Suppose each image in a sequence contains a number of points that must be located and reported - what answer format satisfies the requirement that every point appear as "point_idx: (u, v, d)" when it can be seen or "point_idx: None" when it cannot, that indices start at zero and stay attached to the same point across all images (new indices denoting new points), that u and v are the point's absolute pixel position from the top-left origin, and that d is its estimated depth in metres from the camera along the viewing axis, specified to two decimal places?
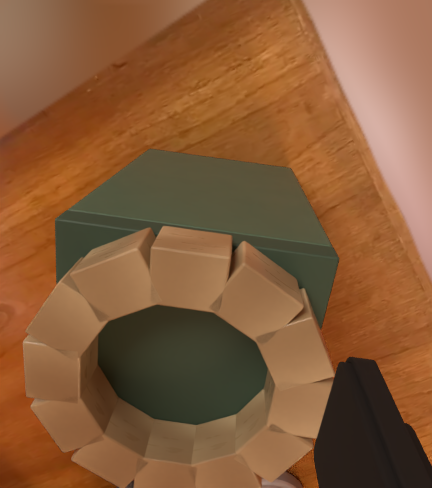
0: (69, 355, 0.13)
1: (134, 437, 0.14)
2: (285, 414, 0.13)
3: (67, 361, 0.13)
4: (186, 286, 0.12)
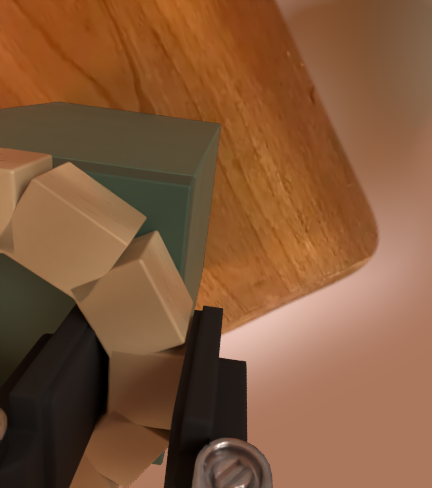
0: (4, 240, 0.08)
1: None
2: None
3: None
4: (138, 390, 0.10)
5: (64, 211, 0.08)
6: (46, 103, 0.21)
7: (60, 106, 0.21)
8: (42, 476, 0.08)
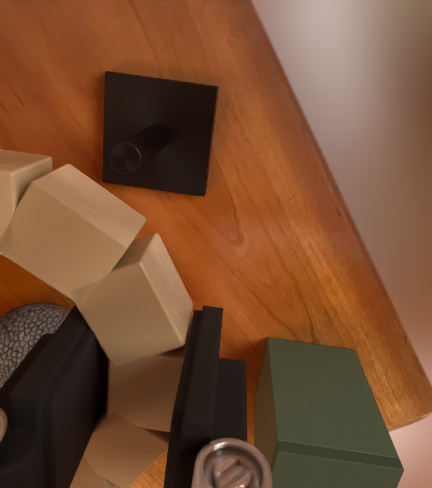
0: (4, 242, 0.08)
1: None
2: None
3: None
4: (138, 392, 0.10)
5: (64, 213, 0.08)
6: (269, 347, 0.41)
7: (279, 351, 0.40)
8: (42, 477, 0.08)
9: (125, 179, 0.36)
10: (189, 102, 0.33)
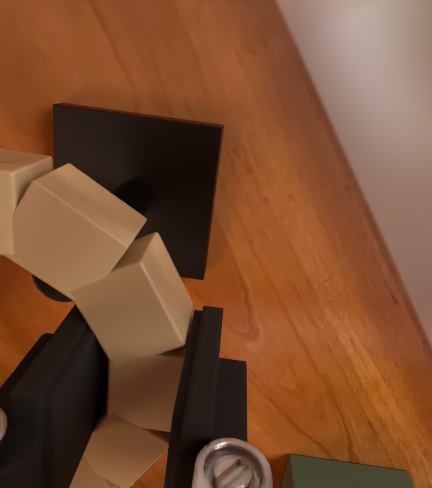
0: (4, 242, 0.08)
1: None
2: None
3: None
4: (138, 392, 0.10)
5: (64, 213, 0.08)
6: (293, 473, 0.30)
7: (306, 480, 0.29)
8: (42, 476, 0.08)
9: None
10: (181, 150, 0.22)
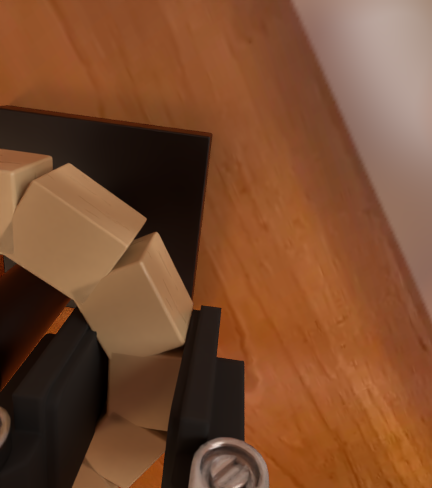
0: (4, 241, 0.08)
1: None
2: None
3: None
4: (138, 391, 0.10)
5: (64, 213, 0.08)
6: None
7: None
8: (44, 477, 0.08)
9: None
10: (157, 165, 0.17)
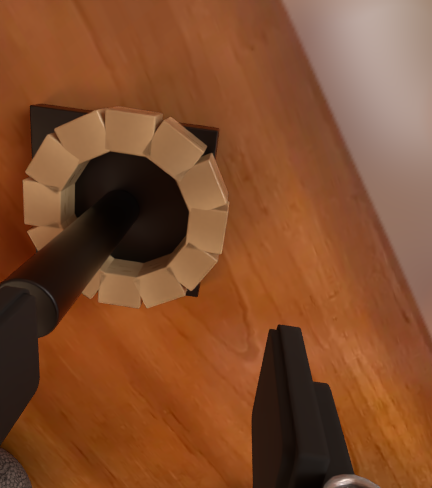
0: (146, 149, 0.18)
1: (71, 180, 0.20)
2: (115, 283, 0.21)
3: (141, 147, 0.18)
4: (202, 230, 0.19)
5: (176, 135, 0.18)
6: None
7: None
8: None
9: None
10: None
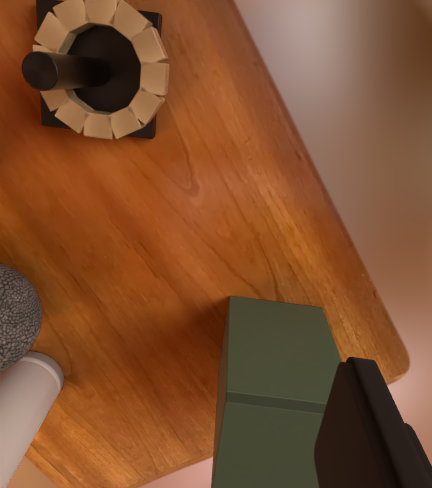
0: (111, 20, 0.29)
1: (64, 46, 0.30)
2: (94, 120, 0.31)
3: (108, 18, 0.29)
4: (150, 77, 0.30)
5: (130, 10, 0.28)
6: (230, 304, 0.38)
7: (240, 308, 0.38)
8: None
9: None
10: None
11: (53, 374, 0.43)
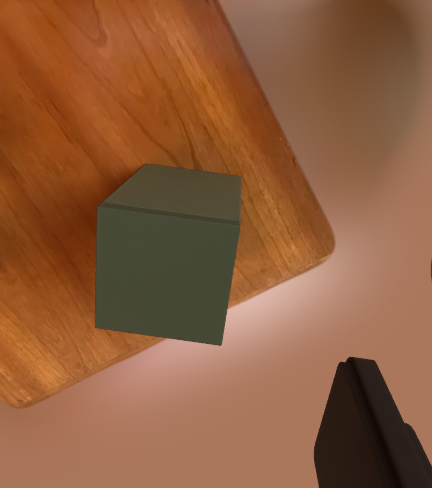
0: None
1: None
2: None
3: None
4: None
5: None
6: (143, 167, 0.37)
7: (152, 169, 0.37)
8: None
9: None
10: None
11: None
